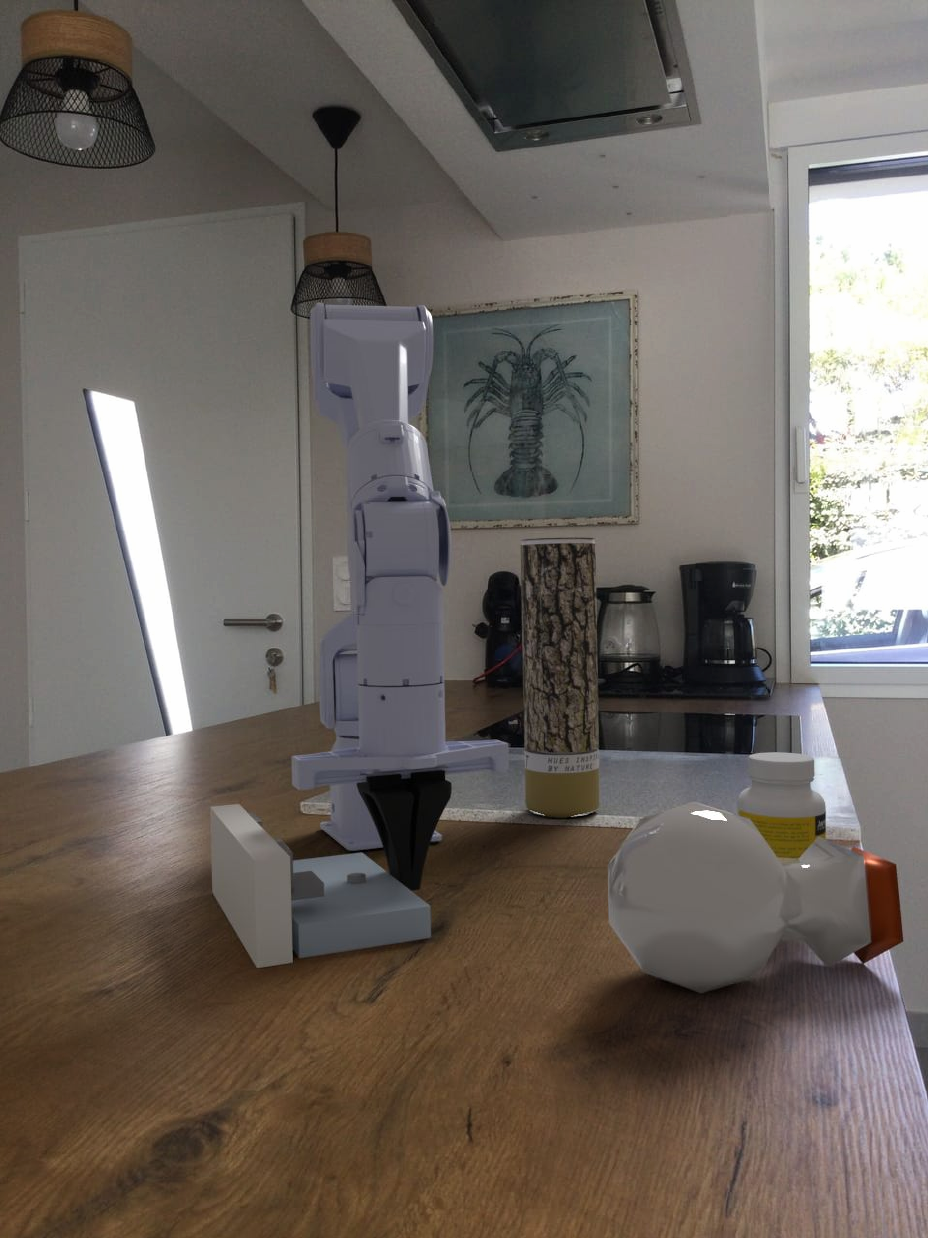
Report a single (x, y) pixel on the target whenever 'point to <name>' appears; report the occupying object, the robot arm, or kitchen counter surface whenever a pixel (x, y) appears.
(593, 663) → the paper tube
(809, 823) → the supplement bottle
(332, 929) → the door
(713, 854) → the potion bottle
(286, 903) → the side panel
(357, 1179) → the kitchen counter surface
